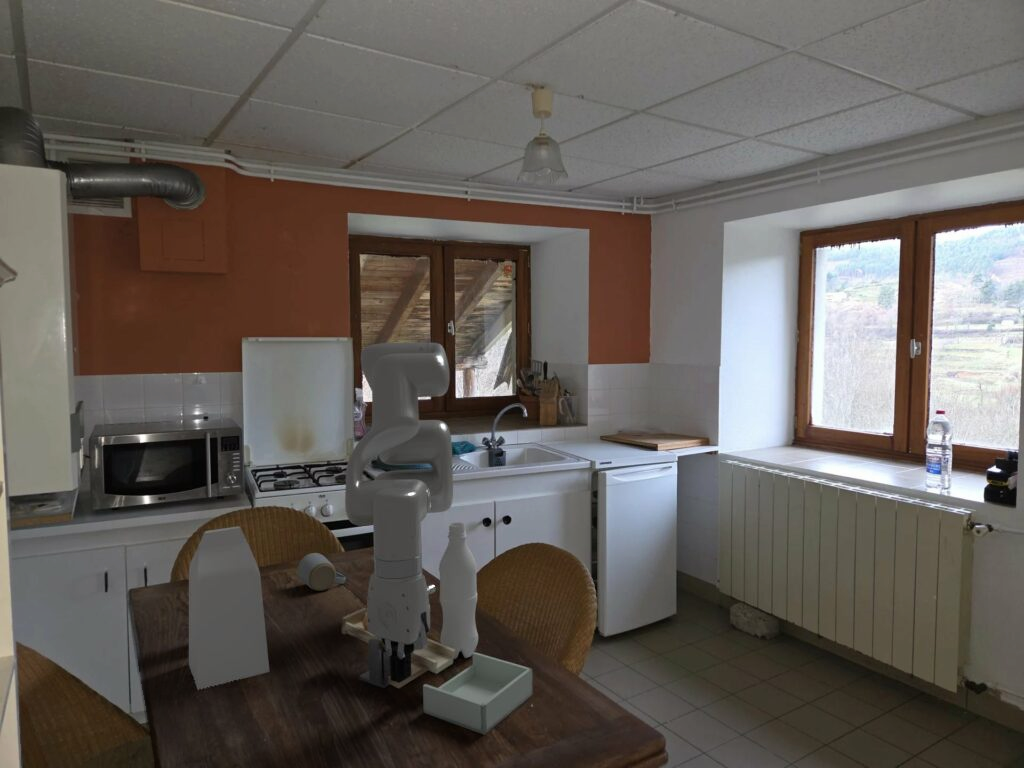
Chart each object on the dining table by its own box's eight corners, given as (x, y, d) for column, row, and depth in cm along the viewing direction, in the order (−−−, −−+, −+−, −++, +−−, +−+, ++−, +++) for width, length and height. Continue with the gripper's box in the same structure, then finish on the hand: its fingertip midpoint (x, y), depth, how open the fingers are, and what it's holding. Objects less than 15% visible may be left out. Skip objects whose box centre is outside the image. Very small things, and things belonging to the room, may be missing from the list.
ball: (369, 611, 129) (381, 609, 128) (374, 629, 129) (386, 626, 127) (356, 617, 127) (368, 615, 125) (361, 635, 126) (373, 632, 125)
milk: (197, 690, 120) (191, 542, 119) (188, 664, 130) (182, 527, 128) (269, 671, 127) (264, 531, 125) (255, 648, 136) (250, 518, 135)
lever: (312, 646, 122) (313, 630, 122) (364, 622, 132) (364, 607, 132) (407, 692, 110) (408, 674, 110) (455, 661, 121) (456, 645, 120)
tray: (475, 676, 124) (474, 652, 123) (532, 694, 117) (532, 668, 117) (423, 712, 112) (423, 685, 112) (484, 734, 105) (483, 706, 105)
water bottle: (461, 641, 138) (459, 517, 136) (486, 653, 133) (483, 524, 131) (433, 653, 133) (430, 524, 131) (457, 665, 128) (454, 532, 126)
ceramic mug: (309, 595, 165) (308, 563, 164) (297, 586, 171) (296, 555, 171) (351, 586, 171) (351, 555, 170) (338, 577, 177) (338, 547, 177)
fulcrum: (359, 679, 123) (358, 639, 123) (394, 659, 131) (393, 622, 130) (384, 688, 120) (383, 647, 120) (418, 667, 127) (417, 629, 127)
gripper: (347, 565, 112) (350, 676, 113) (418, 579, 104) (421, 700, 105) (380, 553, 119) (383, 659, 119) (449, 566, 110) (452, 680, 111)
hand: (401, 678), depth 112 cm, fingers closed
